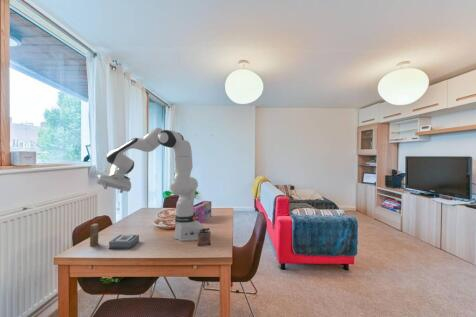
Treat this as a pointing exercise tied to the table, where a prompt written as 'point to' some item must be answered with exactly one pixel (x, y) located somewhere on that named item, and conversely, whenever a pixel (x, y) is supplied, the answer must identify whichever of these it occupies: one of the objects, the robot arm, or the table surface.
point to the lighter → (204, 237)
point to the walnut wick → (93, 234)
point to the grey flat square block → (124, 242)
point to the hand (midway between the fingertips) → (113, 190)
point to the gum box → (202, 211)
